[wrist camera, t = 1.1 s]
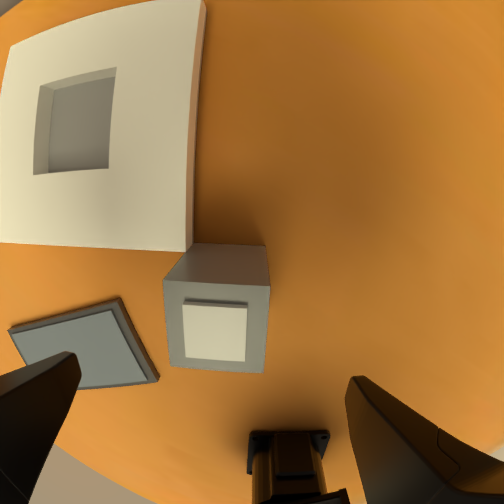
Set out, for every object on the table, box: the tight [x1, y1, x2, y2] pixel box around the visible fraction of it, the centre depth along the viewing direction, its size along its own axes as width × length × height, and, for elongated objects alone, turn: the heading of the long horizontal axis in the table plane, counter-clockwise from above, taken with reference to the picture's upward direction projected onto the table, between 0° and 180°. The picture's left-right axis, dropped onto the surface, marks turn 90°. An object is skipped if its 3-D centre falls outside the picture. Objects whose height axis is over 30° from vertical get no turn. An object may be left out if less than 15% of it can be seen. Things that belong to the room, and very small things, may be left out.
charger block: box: [163, 243, 270, 373], centre depth 14 cm, size 4×4×6 cm
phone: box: [7, 298, 160, 390], centre depth 19 cm, size 6×13×1 cm, turn 107°
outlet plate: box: [0, 0, 207, 252], centre depth 14 cm, size 14×14×2 cm
